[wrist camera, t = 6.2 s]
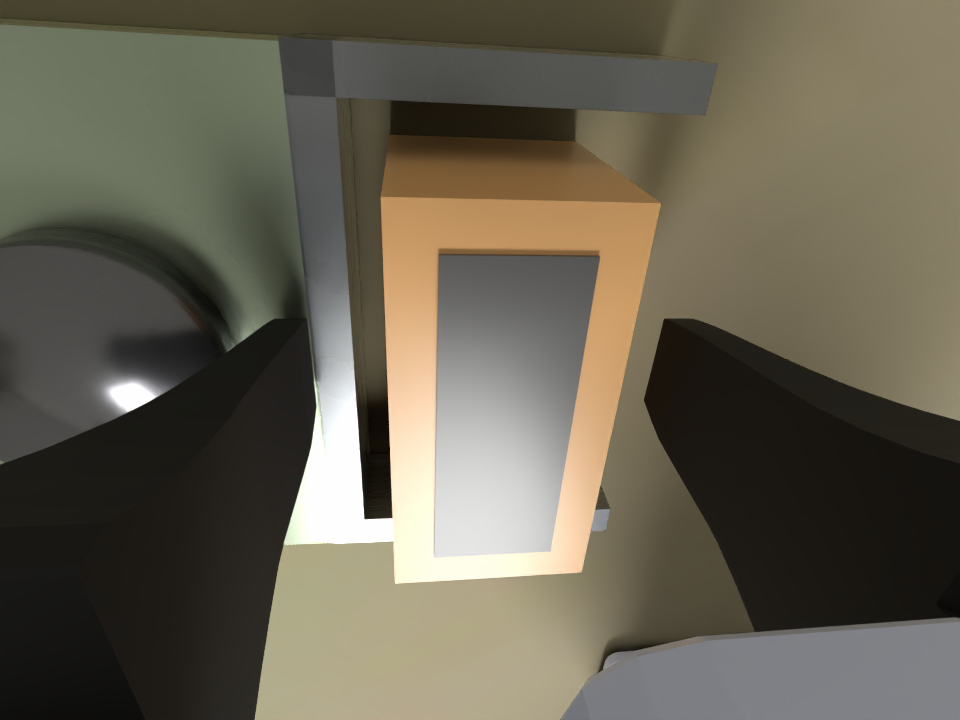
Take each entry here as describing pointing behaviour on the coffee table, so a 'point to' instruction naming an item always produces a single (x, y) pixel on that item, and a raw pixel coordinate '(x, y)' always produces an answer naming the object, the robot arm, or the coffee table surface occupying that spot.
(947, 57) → the coffee table surface
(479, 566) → the orange framed grey panel
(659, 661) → the robot arm
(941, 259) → the coffee table surface
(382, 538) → the green slab
